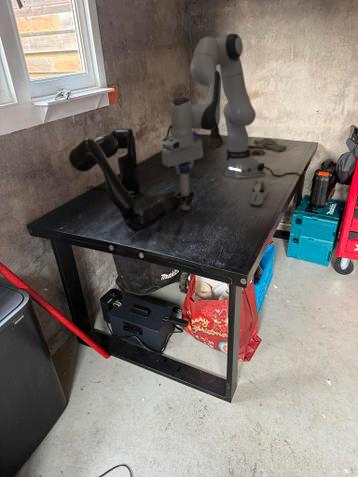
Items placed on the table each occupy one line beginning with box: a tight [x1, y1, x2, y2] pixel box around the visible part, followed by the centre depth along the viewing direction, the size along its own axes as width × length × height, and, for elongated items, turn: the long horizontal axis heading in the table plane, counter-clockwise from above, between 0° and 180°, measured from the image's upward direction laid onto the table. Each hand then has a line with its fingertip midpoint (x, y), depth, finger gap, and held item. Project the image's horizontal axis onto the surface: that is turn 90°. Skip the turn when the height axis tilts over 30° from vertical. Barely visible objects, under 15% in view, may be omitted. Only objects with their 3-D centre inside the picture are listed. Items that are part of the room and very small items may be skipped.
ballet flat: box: [249, 179, 269, 207], centre depth 158 cm, size 8×24×8 cm, turn 163°
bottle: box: [179, 172, 191, 211], centre depth 149 cm, size 4×4×19 cm
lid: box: [178, 165, 191, 174], centre depth 144 cm, size 5×5×2 cm
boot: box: [209, 125, 224, 149], centre depth 245 cm, size 9×24×20 cm, turn 168°
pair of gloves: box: [247, 138, 288, 155], centre depth 230 cm, size 30×26×5 cm
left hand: (188, 193), depth 152 cm, fingers closed on bottle, 4 cm apart
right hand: (184, 172), depth 145 cm, fingers closed on lid, 5 cm apart
